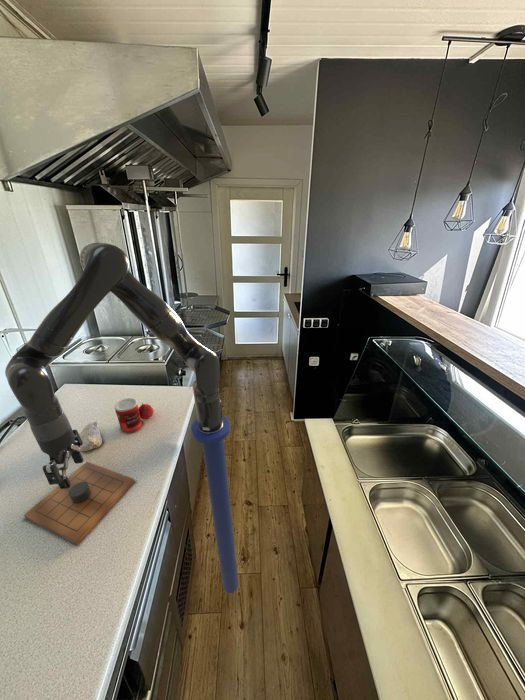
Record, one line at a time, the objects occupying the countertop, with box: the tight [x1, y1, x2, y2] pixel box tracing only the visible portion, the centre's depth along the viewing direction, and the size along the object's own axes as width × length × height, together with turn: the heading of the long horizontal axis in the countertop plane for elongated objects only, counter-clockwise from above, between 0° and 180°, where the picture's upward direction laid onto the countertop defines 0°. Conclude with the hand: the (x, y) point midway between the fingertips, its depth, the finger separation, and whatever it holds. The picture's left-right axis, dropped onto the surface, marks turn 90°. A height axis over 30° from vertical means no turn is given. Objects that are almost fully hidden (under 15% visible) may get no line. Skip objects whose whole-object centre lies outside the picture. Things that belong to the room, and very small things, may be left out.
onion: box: [138, 402, 154, 420], centre depth 115 cm, size 6×6×8 cm
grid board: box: [23, 461, 135, 546], centre depth 84 cm, size 20×20×2 cm
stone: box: [79, 420, 103, 452], centre depth 104 cm, size 8×12×10 cm
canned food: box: [114, 397, 143, 434], centre depth 110 cm, size 8×8×11 cm
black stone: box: [68, 482, 91, 504], centre depth 83 cm, size 5×5×3 cm
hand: (73, 474), depth 80 cm, fingers open, 8 cm apart
